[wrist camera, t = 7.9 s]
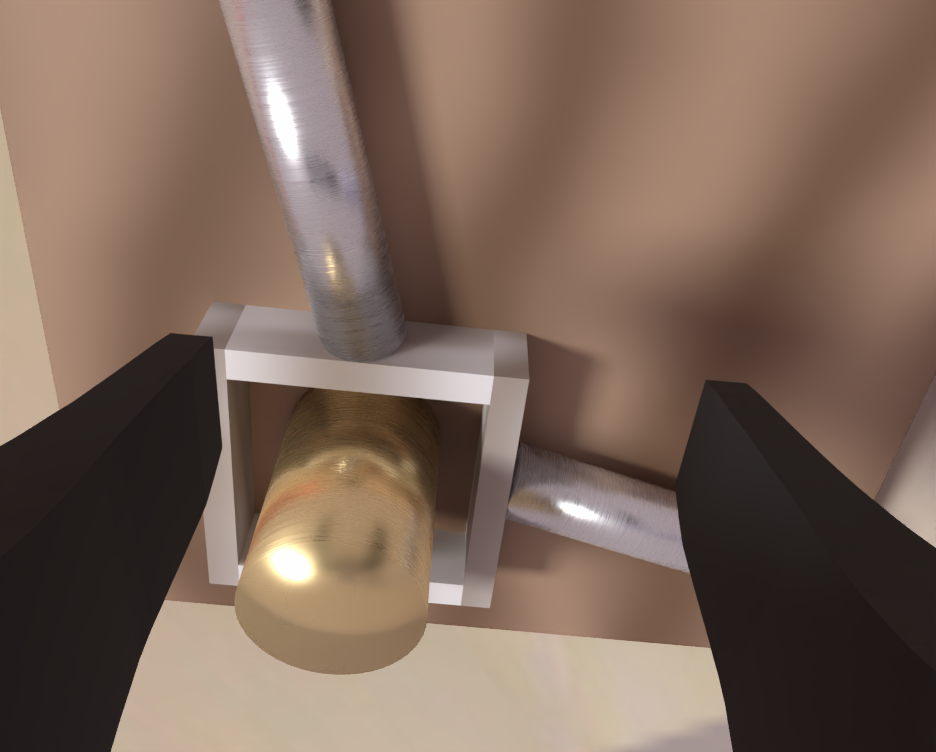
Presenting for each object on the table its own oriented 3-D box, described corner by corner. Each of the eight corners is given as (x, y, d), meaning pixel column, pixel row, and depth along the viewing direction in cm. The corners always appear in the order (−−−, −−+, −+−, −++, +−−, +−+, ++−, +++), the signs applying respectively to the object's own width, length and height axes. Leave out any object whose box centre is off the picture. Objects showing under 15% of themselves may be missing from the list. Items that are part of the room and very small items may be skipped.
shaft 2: (818, 521, 25) (841, 575, 23) (779, 568, 26) (798, 623, 24) (521, 426, 23) (523, 476, 21) (492, 480, 24) (492, 531, 22)
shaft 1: (228, -32, 17) (199, -12, 15) (329, -50, 17) (310, -31, 15) (330, 322, 21) (316, 368, 20) (410, 312, 21) (403, 357, 19)
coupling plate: (1086, -41, 18) (1200, -6, 15) (785, 618, 29) (817, 711, 26) (-14, -172, 17) (-118, -162, 14) (113, 557, 28) (69, 647, 25)
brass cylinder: (451, 385, 22) (440, 559, 17) (428, 501, 25) (413, 684, 20) (293, 361, 22) (236, 531, 17) (285, 480, 24) (232, 662, 19)
